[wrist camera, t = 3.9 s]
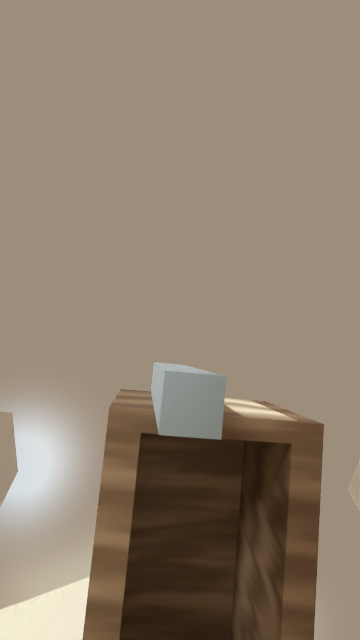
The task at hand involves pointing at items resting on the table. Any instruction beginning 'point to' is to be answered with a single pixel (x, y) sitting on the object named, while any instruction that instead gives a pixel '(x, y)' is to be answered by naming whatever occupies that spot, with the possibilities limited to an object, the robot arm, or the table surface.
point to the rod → (188, 401)
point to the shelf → (206, 527)
